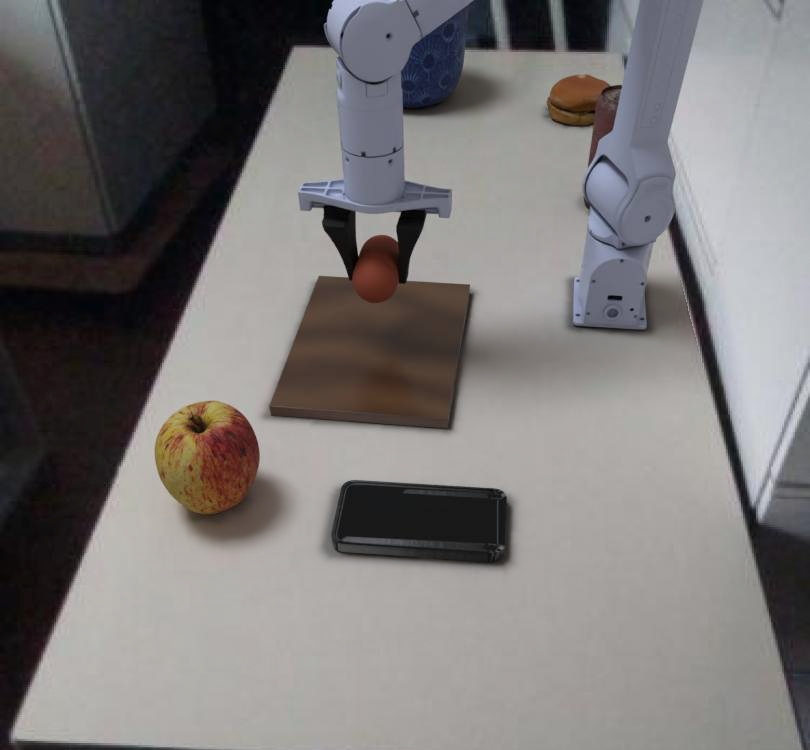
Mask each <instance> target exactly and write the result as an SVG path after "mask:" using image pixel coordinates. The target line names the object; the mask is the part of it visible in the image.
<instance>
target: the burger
mask: <svg viewBox="0 0 810 750" xmlns="http://www.w3.org/2000/svg"><path fill="white" fill-rule="evenodd" d="M609 86H612V85H611V84H609V83H608V82H607V81H605V80H603V79H600V78H596V77H595V76H592V75H590V74H573V75H569V76H565V77H563V78H561V79H559V80H558V81H556V82H555V83H554V85H553V86H552V88H551V89H550V92H549V96H548V97H547V99H546V106H547V110H548V114H549V117H550V118H551V119H553V120H554V121H557V122H560V123H563V124H567V125H571V126H588V125H591V124H594V119H595V111H596V104H597V99H598V98H599V96H600V95H601V92H602V90H603V89H605V88H606V87H609Z"/></svg>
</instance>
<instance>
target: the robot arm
mask: <svg viewBox="0 0 810 750" xmlns="http://www.w3.org/2000/svg"><path fill="white" fill-rule="evenodd" d="M474 1H475V0H333V1H332V2H331V5H332V6H331V8H329V9H328V13H327V17H326V22H325V23H324V24H323V29H324V34H325V37H326V39H327V41H328V44H329V45H330V46H331V48H332V49H333V51H335V54H337V55H338V56H337V57H336V58H335V66H336V82H337V89H336V100H337V101H336V102H337V113H338V114H337V115H338V127H339V138H340V139H339V140H340V150H341V162H342V163H341V164H342V174H343V175H342V177H343V178H341V179H331V180H322V181H312V182H311V181H303V182H301V184H300V187H299V188H298V191H297V195H298V203H299V210H300V212H311V211H312V209H323V214H322V215H323V218H322V220H321V225H322V228H323V231H324V233H326V235H327V236H328V237H329V239H330V241H331V242H332V243H333V245H334V247H335V248H336V250H337V252H338V254H339V256H340V258H341V260H342V263H343V265H344V268H345V270H346V273H347V277H348V278H349V280H350V281H352V277H353V272H354V269H355V266H356V263H357V260H358V257H359V250H358V243H357V219H356V218H357V217H356V216H357V215H356V214H357V213H360V214H367V215H377V214H378V215H379V214H380V215H381V214H389V213H399V217H398V220H397V223H396V226H395V231H396V237H397V239H396V240H397V242H398V248H399V273H398V275H399V284H406V281H408V277H409V274H410V273H409V271H410V262H411V257H412V255H413V251H414V249H415V247H416V244H417V242H418V241H419V239H420V237H421V234H422V232H423V230H424V226H425V223H426V219H427V216H428V215H437V216H438V218H440V219H450V218H451V213H452V209H453V189H452V188H443V187H436V186H431V185H427V184H422V183H418V182H413V181H409V180H406V178H405V140H404V137H405V136H404V135H405V134H404V107H403V93H402V88H401V70H402V69H403V68H404V66H405V65H406V63H407V61H408V58H409V55H410V52H411V49H412V47H413V45H414V44H415V43H417V42H418V41H420V40H421V39H422V38H424V37H425V36H426V35H428V34H429V33H430V32H432V31H433V30H434V29H436V28H437V27H438V26H440V25H441V24H443V23H444V22H445V21H447V20H448V19H449V18H451V17H452V16H453V15H455V14H456V13H457V12H459V11H460V10H461V9H463V8H464V7H466V6H467V5H468V4H469V5H470V4H471V3H472V2H474ZM703 5H704V0H639V2H638V6H637V12H636V15H635V16H636V17H635V22H634V27H633V32H632V36H631V40H630V45H629V51H628V54H627V55H628V56H627V60H626V65H625V70H624V74H623V79H622V84H621V85H622V89H621V94H620V98H619V103H618V108H617V113H616V118H615V122H614V127H613V131H611V132H610V133H609V134H607V135H606V136H604V137H603V138H602V139H600V140H599V142H598V147H597V151H596V155H595V157H594V159H593V161H592V163H591V164H590V166H589V167H588V166H587V169H586V171H585V172H584V175H583V178H582V183H581V191H582V195H583V197H585V199H586V201H587V202H588V203H589V204H591V205H590V209H589V212H588V216H589V217H588V221H587V228H586V234H585V242H584V249H583V254H582V255H583V256H582V261H581V269H580V276H579V275H578V276H575V277H574V279H573V303H572V304H573V305H572V306H573V307H572V308H573V309H572V312H573V313H572V323H573V325H574V326H577V327H590V328H591V327H592V328H593V327H594V328H606V329H607V328H608V329H609V328H610V329H623V330H625V329H626V330H641V331H643V330H646V329H647V327H648V323H647V310H646V295H645V292H646V287H647V281H648V271H649V266H650V262H651V258H652V252H653V248H654V243H656V242H657V239H658V238H659V237H660V236H662V234H664V232H665V231H666V230H667V229H668V227H669V226H670V224H671V222H672V220H673V217H674V214H675V210H676V201H675V197H674V184H675V180H676V175H677V174H676V173H677V172H676V168H675V164H674V162H673V157H672V154H671V149H670V146H669V137H670V133H671V129H672V125H673V122H674V118H675V113H676V110H677V107H678V102H679V98H680V94H681V89H682V86H683V83H684V78H685V74H686V70H687V67H688V63H689V60H690V55H691V51H692V47H693V43H694V39H695V36H696V32H697V29H698V23H699V20H700V15H701V12H702V7H703ZM427 214H428V215H427Z"/></svg>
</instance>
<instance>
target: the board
mask: <svg viewBox="0 0 810 750" xmlns="http://www.w3.org/2000/svg"><path fill="white" fill-rule="evenodd" d="M470 294H471V284H469V283H453V282H452V283H451V282H438V281H437V282H435V281H417V280H407V281H406V284H399V282H398V285H397V288H396V290H395V292H394V294H393V295H392V296H391V297H390V298H389V299H388V300H386V301H384V302H381V303H370V302H367V301H365V300H363V299H362V298H361V297H360V296H359V295H358V294H357V293H356V291H355V289H354V286H353V281H350V280H349V278H348V276H332V275H318V277H317V279H316V282H315V285H314V288H313V289H312V293H311V295H310V298H309V301H308V303H307V306H306V308H305V311H304V314H303V317H302V319H301V321H300V324H299V326H298V329H297V332H296V334H295V337H294V340H293V343H292V345H291V348H290V350H289V353H288V355H287V358H286V361H285V363H284V366H283V369H282V372H281V374H280V376H279V379H278V382H277V384H276V388H275V390H274V393H273V395H272V398H271V400H270V403H269V405H268V407H269V412H270V415H271V416H279V417H293V418H306V419H318V420H331V421H345V422H356V423H357V422H359V423H369V424H384V425H395V426H397V425H398V426H409V427H421V428H422V427H423V428H435V429H448V428H449V423H450V417H451V409H452V405H453V398H454V391H455V386H456V379H457V374H458V367H459V361H460V356H461V350H462V343H463V337H464V331H465V324H466V319H467V313H468V306H469V301H470Z"/></svg>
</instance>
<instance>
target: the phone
mask: <svg viewBox="0 0 810 750" xmlns="http://www.w3.org/2000/svg"><path fill="white" fill-rule="evenodd" d="M507 497H508V496H507V494H506V493H505V492H504V491H503V490H502V489H499V488H494V487H480V486H463V485H445V484H428V483H414V482H413V483H411V482H397V481H378V480H364V479H350V480H347V481H345V482H344V483H343V484H342V485H341V487H340V491H339V496H338V500H337V505H336V510H335V515H334V520H333V523H332V529H331V532H330V537H331V538H330V539H331V543H332V547H333V548H334V549H335V550H336V551H338V552H341V553H354V554H368V555H380V556H381V555H382V556H384V555H385V556H396V557H397V556H398V557H410V558H411V557H412V558H425V559H440V560H442V559H443V560H456V561H469V562H484V563H495V562H498V561H500V560H501V559H502V558H503V557H504V555H505V547H506V529H507V527H506V526H507V504H508V503H507V502H508V498H507Z"/></svg>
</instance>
